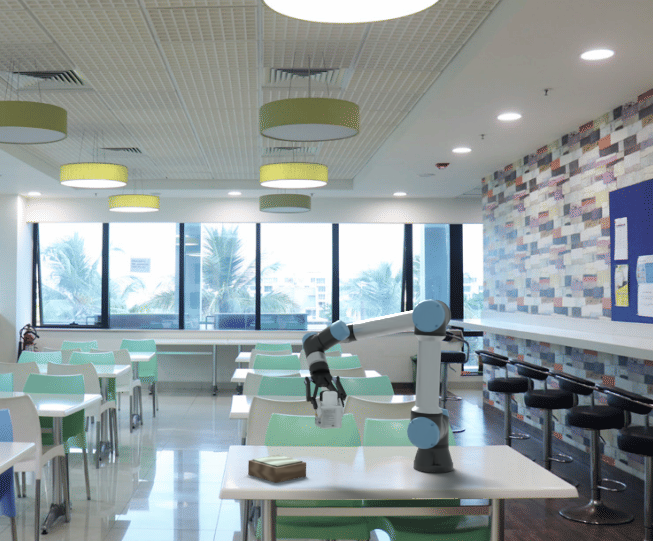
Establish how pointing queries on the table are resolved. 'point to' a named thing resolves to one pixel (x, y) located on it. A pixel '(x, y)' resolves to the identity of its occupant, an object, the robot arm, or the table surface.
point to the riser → (277, 468)
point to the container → (329, 411)
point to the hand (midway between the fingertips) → (331, 415)
